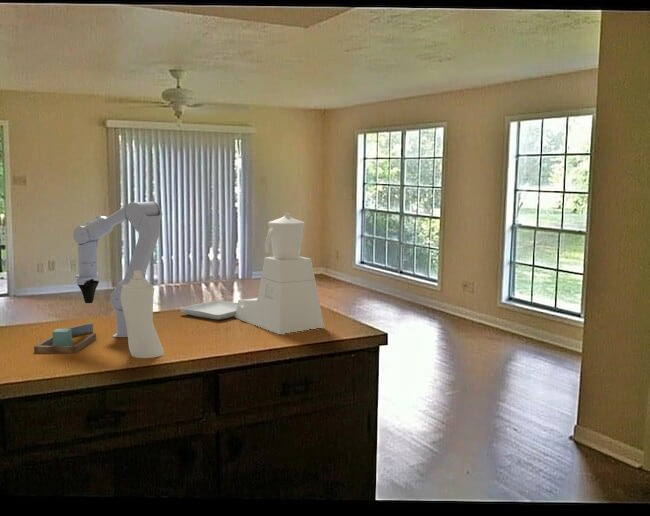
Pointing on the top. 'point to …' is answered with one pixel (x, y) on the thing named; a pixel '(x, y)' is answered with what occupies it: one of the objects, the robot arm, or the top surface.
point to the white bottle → (140, 317)
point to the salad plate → (212, 310)
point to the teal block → (62, 337)
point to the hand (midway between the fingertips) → (89, 302)
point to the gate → (81, 329)
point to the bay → (47, 348)
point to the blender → (284, 284)
